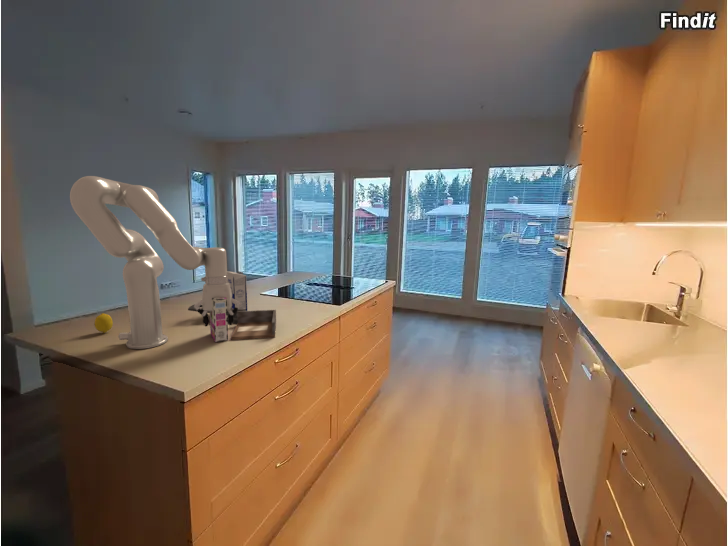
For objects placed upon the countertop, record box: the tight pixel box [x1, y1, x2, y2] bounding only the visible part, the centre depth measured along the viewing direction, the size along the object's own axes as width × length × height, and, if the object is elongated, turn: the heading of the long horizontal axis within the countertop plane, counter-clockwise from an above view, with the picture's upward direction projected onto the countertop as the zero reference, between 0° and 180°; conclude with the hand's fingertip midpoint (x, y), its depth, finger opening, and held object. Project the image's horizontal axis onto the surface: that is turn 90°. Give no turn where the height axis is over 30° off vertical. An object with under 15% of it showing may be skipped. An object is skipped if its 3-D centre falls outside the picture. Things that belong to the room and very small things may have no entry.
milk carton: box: [227, 270, 248, 311], centre depth 160 cm, size 7×7×20 cm
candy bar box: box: [209, 298, 229, 343], centre depth 125 cm, size 11×5×16 cm, turn 33°
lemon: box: [94, 313, 114, 334], centre depth 127 cm, size 6×6×8 cm
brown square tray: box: [230, 309, 277, 341], centre depth 133 cm, size 16×18×6 cm
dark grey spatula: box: [187, 304, 246, 325], centre depth 146 cm, size 9×7×25 cm
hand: (219, 324), depth 125 cm, fingers open, 8 cm apart
